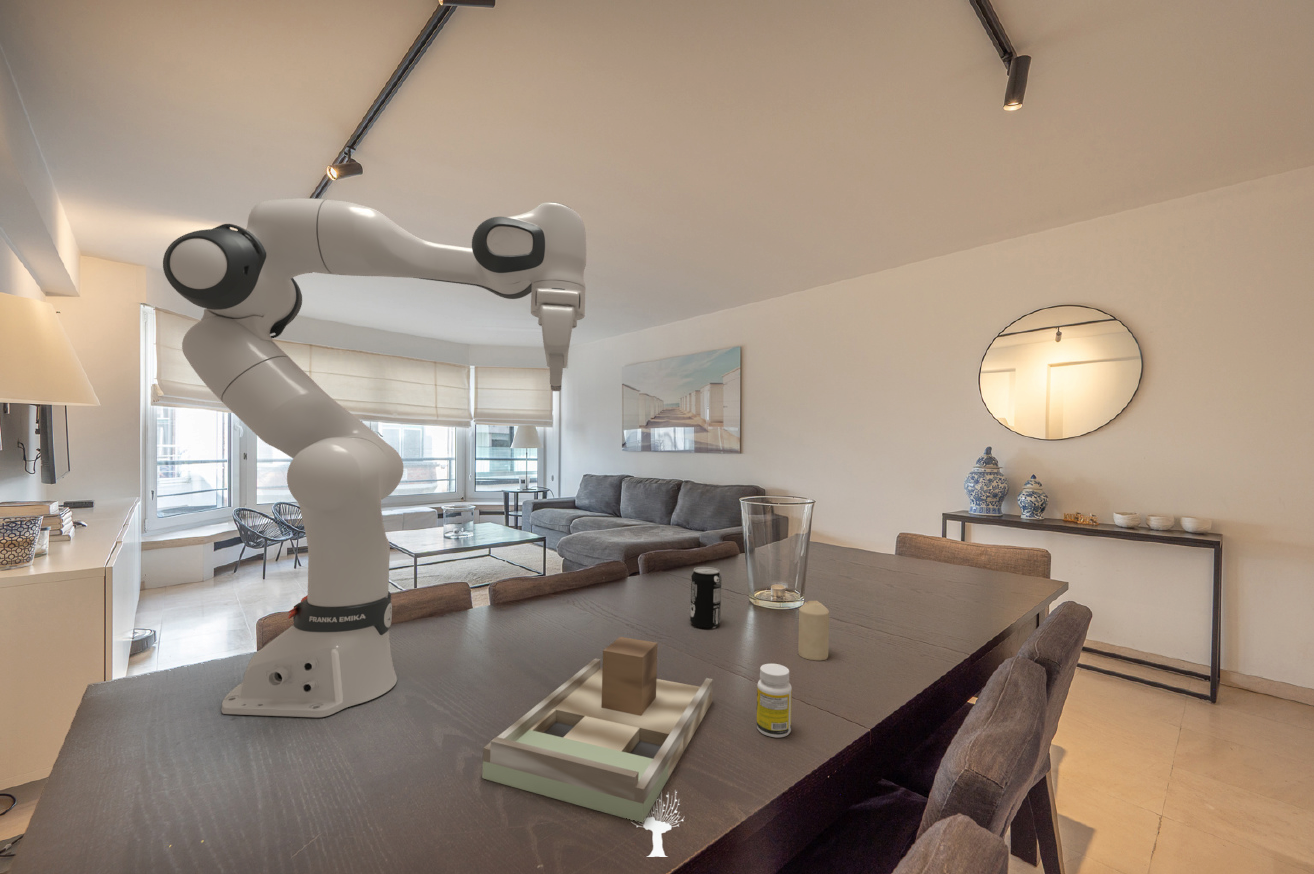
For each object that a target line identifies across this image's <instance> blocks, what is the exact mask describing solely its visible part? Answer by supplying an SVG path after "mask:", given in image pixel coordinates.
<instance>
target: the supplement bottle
mask: <svg viewBox="0 0 1314 874" xmlns="http://www.w3.org/2000/svg"><path fill="white" fill-rule="evenodd" d="M759 671H760V672H759V680H758V682H757V685H756V729H757V730H758V732H760V733H761V734H762V735H765V736H768V737H771V738H777V739H778V738H785V737H787V736H789V735H790V734H791V731H792V701H793V700H792V697H793V696H792V695H793V694H792V693H793V688H792V685H791V682H790V669H789V668H788V667H787V666H785V665H782V664H779V663H778V664H777V663H766V664H765V663H764V664H761V666H760V668H759Z"/></svg>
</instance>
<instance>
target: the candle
mask: <svg viewBox="0 0 1314 874" xmlns="http://www.w3.org/2000/svg"><path fill="white" fill-rule="evenodd" d="M829 636H830V611H829V609H828V608H827V607H826V606H825V605H824V604H822V603H821V602H819V601H818V600H808V601H805V602H804V603H803V604H802V605H800V607H799V608H798V645H797V646H798V649H797V650H798V652H797V653H798V655H799V656H800V657H801V658H803V659H806V660H810V661H819V662H820V661H825V660H827V659H828V658H829V649H830V647H829V646H830V645H829V643H830V641H829V639H830V637H829Z"/></svg>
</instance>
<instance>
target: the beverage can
mask: <svg viewBox="0 0 1314 874" xmlns="http://www.w3.org/2000/svg"><path fill="white" fill-rule="evenodd" d="M720 571H721V570H720V569H719V568H715V567H710V566H698V567H694V568H693V572H692V574H691V579H690V582H691V583H690V617H689V620H690V623H691V624H692V626H693V627H695V628H697V629H700V630H701V629H702V630H712V629H716V628H717V627H718V626H719V625H720V624H721V619H722V618H721V617H722V616H721V615H722V612H721V611H722V579H723V578H722V575H721V573H720Z"/></svg>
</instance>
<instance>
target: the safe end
mask: <svg viewBox="0 0 1314 874" xmlns="http://www.w3.org/2000/svg"><path fill="white" fill-rule="evenodd" d="M515 742H519V743H523V744H527V745H531V746H535V747H539V748H543V749H547V750H551V751H555V752H559V753H564V754H568V755H572V756H576V757H580V758H584V759H588V760H592V761H596V762H600V763H604V764H608V765H612V766H616V767H620V768H624V769H628V770H632V771H636V772H639V777H638V781H639V780H640V778H641V777H642V775H643V774H644V772H645V771H646V769H647V768H648V766H649V765H650V763H651V762H652V760H653V759H651V758H647V757H643V756H639V755H634V754H630V753H626V752H622V751H617V750H613V749H609V748H605V747H600V746H596V745H592V744H588V743H583V742H579V741H575V740H571V739H566V738H562V737H558V736H554V735H550V734H545V733H541V732H537V731H533V730H528V731H527V732H526V733H524V734H523V735H522V736H521V737H520V738H519V739H517V740H516V741H515ZM481 773H482V777H481V778H482V779H484V780H487V781H490V782H495V783H497V784H502V785H505V786H508V787H512V788H516V789H520V790H523V791H527V792H530V793H533V794H537V795H540V796H544V797H547V798H551V799H554V800H555V799H556V800H557V801H561V802H566V803H570V804H573V805H577V806H580V807H583V808H587V809H590V810H594V811H597V812H598V811H599V812H600V813H601V812H602V813H605V814H608V815H612V816H615V817H620V818H622V819H626V818H627V820H629V819H630V820H629V821H633V820H635V821H634V822H637V821H640V822H643V821H644V822H645V820H646V819H647V816H648V815H649V813H650V811H651V810H652V808H653V806H654V805H655V802H656V801H657V800H658V797H659V795H660V794H661V792H662V791H663V788H664V787H665V785H666V783H667V782H668V780H669V778H668V764H667V765H666V767H665V769H664V770H663V772H662V774H661V775H660V777H659V779H658V780H657V782H656V784H655V785H654V787H653V789H652V790H651V792H650V794H649V795H648V797H647V799H646V800H645V802H644V804H642V803H638V802H635V801H631V800H627V799H623V798H620V797H616V796H612V795H608V794H605V793H601V792H597V791H593V790H590V789H586V788H582V787H578V786H575V785H571V784H567V783H563V782H560V781H556V780H552V779H548V778H545V777H541V776H537V775H534V774H530V773H526V772H522V771H519V770H515V769H511V768H507V767H504V766H500V765H496V764H492V763H489V762H485V761H483V760H482V772H481ZM645 818H646V819H645ZM644 819H645V820H644ZM640 822H639V823H640ZM644 822H643V823H644Z"/></svg>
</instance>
